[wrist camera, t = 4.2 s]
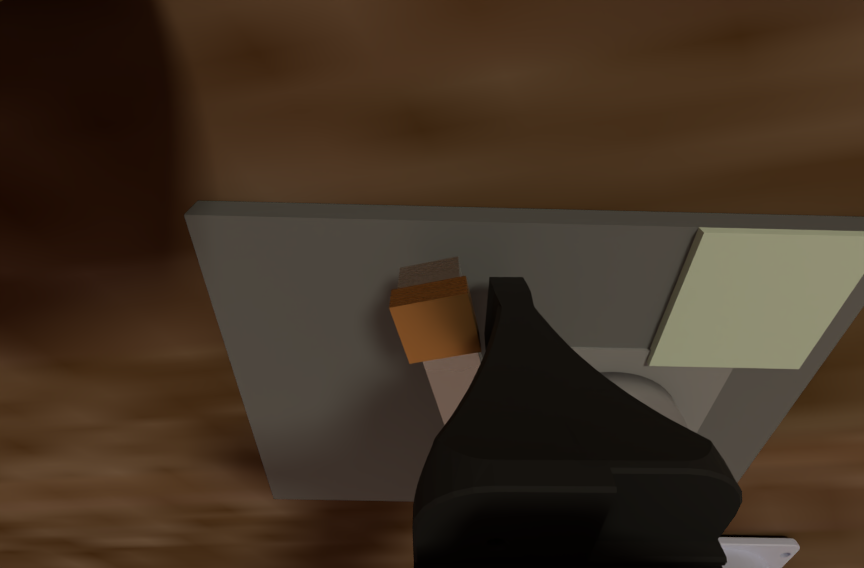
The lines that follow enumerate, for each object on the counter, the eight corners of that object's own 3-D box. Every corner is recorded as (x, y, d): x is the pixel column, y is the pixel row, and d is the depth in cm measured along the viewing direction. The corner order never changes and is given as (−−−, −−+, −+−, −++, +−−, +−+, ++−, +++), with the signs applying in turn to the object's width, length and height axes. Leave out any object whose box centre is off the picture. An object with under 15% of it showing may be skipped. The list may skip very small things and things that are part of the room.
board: (709, 488, 21) (735, 536, 20) (279, 480, 21) (265, 528, 19) (889, 217, 13) (960, 257, 12) (197, 200, 13) (160, 238, 11)
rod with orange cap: (531, 527, 19) (538, 570, 18) (478, 534, 19) (482, 575, 18) (471, 253, 11) (476, 291, 10) (386, 270, 12) (380, 309, 10)
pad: (793, 362, 15) (798, 369, 15) (645, 359, 15) (649, 365, 15) (879, 231, 13) (888, 237, 12) (698, 227, 13) (704, 232, 12)
